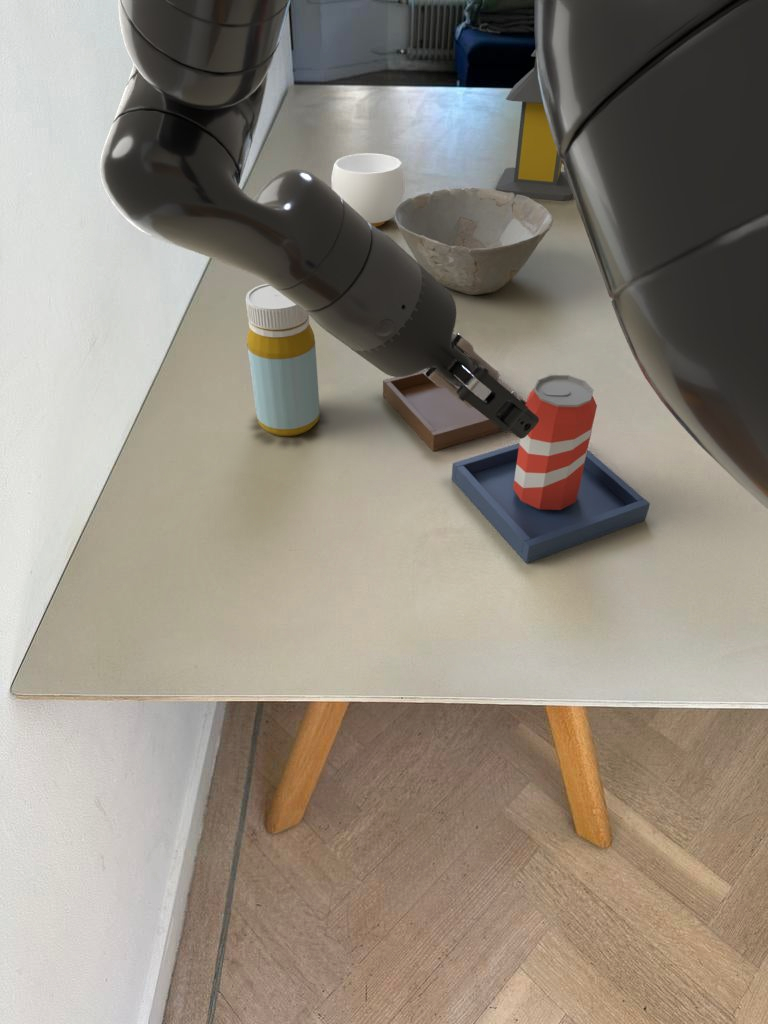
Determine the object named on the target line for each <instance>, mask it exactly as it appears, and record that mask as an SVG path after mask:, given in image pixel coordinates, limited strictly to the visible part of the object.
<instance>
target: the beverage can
mask: <svg viewBox="0 0 768 1024" xmlns="http://www.w3.org/2000/svg"><path fill="white" fill-rule="evenodd" d="M593 394H594V389H593V387H592V386H591V385H590V384H589V383H588V382H587V380H584V379H582V378H579V377H576V376H573V375H570V374H549V375H547V376H544V377H541V378H537V380H536V382H535V384H534V387H533V389H532V390H531V391H530V392H529V394H528V396H527V398H526V400H525V401H526V404H525V405H526V406H527V407H528V409H529V410H530V411H532V412H533V413H534V414H535V415H536V416H537V417H538V418H539V421H538V423H537V425H536V426H535V427H534V428H533V429H532V430H531V431H530V432H529V434H528V435H527V436H526V437H524V438H522V439H520V438H519V442H518V443H519V450H518V457H517V464H516V471H515V478H514V486H513V489H514V491H515V492H516V494H517V495H518V497H519V498H520V500H521V501H522V502H524V503H527V504H529V505H531V506H533V507H535V508H537V509H546V510H561V509H563V508H565V507H567V506H569V505H571V504H573V503H575V502H576V499H577V495H578V492H579V487H580V483H581V478H582V473H583V469H584V464H585V459H586V455H587V450H588V449H589V445H590V440H591V436H592V431H593V427H594V421H595V417H596V413H597V407H598V404H597V403H596V401H595V400H596V399H595V398H594V396H593ZM588 451H589V450H588Z"/></svg>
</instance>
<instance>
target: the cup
mask: <svg viewBox="0 0 768 1024" xmlns="http://www.w3.org/2000/svg"><path fill="white" fill-rule="evenodd" d="M330 180H331V189H332V190H334V191H335V192H336V193H337V194H338V195H339V196H340V197H341V198H342V199H343V200H344V201H345V202H346V203H348V204H349V205H350V206H351V207H352V208H353V209H354V210H355V211H356V212H357V213H358V214H360V215H361V216H362V217H363V218H364V219H365V220H366V221H368V222H369V223H370V224H371V225H373V226H374V227H375V228H377V227H380V226H383V224H385V223H386V222H388V221H390V220H391V219H393V218H395V216H394V215H395V212H396V210H397V208H398V206H399V205H400V204H401V203H402V202H403V199H404V195H405V192H406V190H405V187H406V186H405V185H406V184H405V183H406V174H405V170H404V166H403V163H402V161H401V160H400V159H399V158H398V157H394V156H392V155H389V154H383V153H373V152H371V153H370V152H366V153H364V152H363V153H354V154H349V155H345V156H344V155H343V156H342V157H340V158H337V159H336V160H335V162H334V164H333V168H332V172H331V179H330Z"/></svg>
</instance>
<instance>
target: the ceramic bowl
mask: <svg viewBox="0 0 768 1024" xmlns="http://www.w3.org/2000/svg"><path fill="white" fill-rule="evenodd" d="M394 221H395V222H396V225H397V228H398V229H399V232H400V234H401V236H402V237H403V239H404V241H405V243H406V245H407V247H408V248H409V250H410V252H411V253H412V255H413V258H414V259H415V260H416V261H417V262H418V263H419V264H420V265H421V266H422V267H423V268H424V269H425V270H426V271H427V272H429V273H430V274H431V275H432V276H433V277H434V278H435V279H436V280H437V281H438V282H439V283H440V284H442V285H443V286H444V287H445V288H446V289H450V290H454V291H455V292H459V293H463V294H466V295H470V296H471V295H472V296H477V295H484V294H492V293H494V292H497V291H499V290H500V289H502V288H503V287H504V286H506V285H507V283H509V282H510V281H511V280H512V279H513V278H514V277H516V275H517V274H519V272H520V270H521V269H522V268H523V267H524V265H526V262H528V260H529V259H530V257H531V256H532V254H533V253H534V251H535V250H536V248H537V247H538V245H539V243H540V242H541V241H542V240H543V239H544V238H545V235H546V234H547V233H548V232H549V231H550V229H551V228H552V226H553V216H552V214H551V213H550V211H549V210H548V209H547V208H545V206H543V205H542V204H540V203H538V202H537V201H535V200H534V199H532V198H528V197H526V196H522V195H518V194H517V195H516V196H515V195H514V193H506V192H501V191H496V189H491V188H490V189H489V188H476V187H472V188H467V187H465V188H463V189H462V188H452V189H451V188H449V189H441V190H434V191H433V192H432V193H430V192H425V193H421V194H418V195H416V196H413V197H409V198H407V199H406V200H404V201H402V202H401V204H400V205H399V206H398V208H397V210H396V212H395V215H394Z"/></svg>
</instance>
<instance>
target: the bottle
mask: <svg viewBox="0 0 768 1024" xmlns="http://www.w3.org/2000/svg"><path fill="white" fill-rule="evenodd" d="M245 306H246V314H247V319H248V326H249V328H248V332H247V336H246V342H247V345H246V346H247V352H248V362H249V368H250V375H251V383H252V384H251V385H252V390H253V398H254V407H255V414H256V418H257V423H258V424H259V426H260V427H261V428H262V429H263V430H264V431H266V432H268V433H270V434H271V435H275V436H279V437H293V436H299V435H301V434H305V433H306V432H308V431H310V430H311V429H312V428H313V427H314V426H316V424H317V423H318V421H319V419H320V416H321V415H320V414H321V413H320V412H321V409H320V407H321V406H320V395H319V393H320V392H319V380H318V379H319V378H318V377H319V376H318V365H317V349H316V339H315V338H316V337H315V333H314V330H313V328H312V326H311V324H310V315H309V314H308V313H307V312H305V311H304V310H303V309H302V308H301V307H299V306H298V305H296V304H295V303H293V302H292V301H291V300H289V299H288V298H287V297H285V296H284V295H283V294H281V293H280V292H278V291H277V290H276V289H274V288H273V287H271V286H270V285H269V284H267V283H264V284H260V285H256V286H254V287H253V288H251V289H250V290H248V292H247V293H246V295H245Z"/></svg>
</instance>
